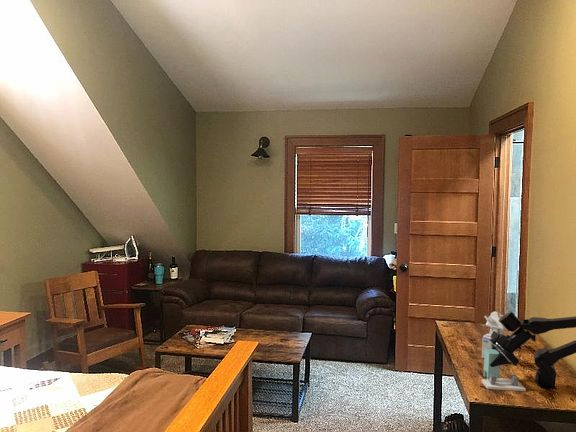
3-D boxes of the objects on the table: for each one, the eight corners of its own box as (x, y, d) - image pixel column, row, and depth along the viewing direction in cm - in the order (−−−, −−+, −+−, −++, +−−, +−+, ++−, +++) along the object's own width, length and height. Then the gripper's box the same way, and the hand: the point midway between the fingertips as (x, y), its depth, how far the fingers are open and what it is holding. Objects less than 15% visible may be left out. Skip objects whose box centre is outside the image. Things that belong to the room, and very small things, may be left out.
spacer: (494, 376, 202) (495, 349, 201) (498, 381, 197) (500, 354, 196) (483, 375, 202) (485, 349, 201) (487, 381, 197) (489, 353, 196)
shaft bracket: (518, 383, 195) (519, 373, 195) (525, 391, 188) (526, 380, 188) (481, 381, 196) (482, 371, 196) (487, 388, 189) (488, 378, 189)
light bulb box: (509, 360, 221) (510, 338, 220) (504, 364, 216) (505, 341, 215) (486, 354, 228) (487, 332, 227) (480, 357, 223) (482, 335, 222)
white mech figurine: (506, 353, 229) (509, 317, 228) (479, 346, 238) (481, 312, 237) (514, 347, 238) (516, 313, 237) (487, 340, 247) (489, 307, 246)
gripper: (495, 319, 206) (468, 342, 208) (512, 333, 188) (483, 358, 190) (512, 337, 206) (485, 360, 208) (531, 353, 188) (501, 378, 190)
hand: (488, 363), depth 199 cm, fingers closed on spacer, 5 cm apart
